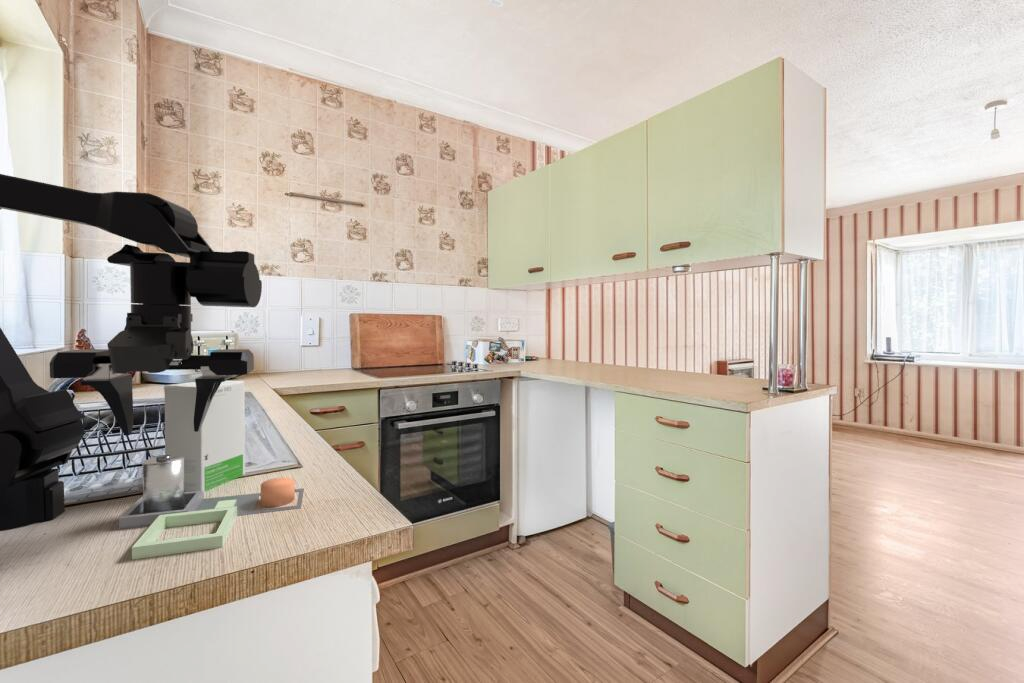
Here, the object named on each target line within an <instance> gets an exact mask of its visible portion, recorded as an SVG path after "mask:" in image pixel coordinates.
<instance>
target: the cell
mask: <svg viewBox="0 0 1024 683" xmlns="http://www.w3.org/2000/svg"><path fill="white" fill-rule="evenodd" d="M141 465H142V496H143V514H147V513H156V512H165V511H174V510H183V509H184V457H183V456H178V455H165V454H161V455H157V456H156V457H152V458H149V459H146V460H143V461H142V464H141Z"/></svg>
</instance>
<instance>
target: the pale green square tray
mask: <svg viewBox="0 0 1024 683" xmlns="http://www.w3.org/2000/svg"><path fill="white" fill-rule="evenodd" d="M237 518H238V516H237V506H236V507H227V508H218V509H209V510H200V511H191V512H182V513H173V514H164V515H159V516H158V517H157V519H156V520H155V521H154V522H153V523H152V524H151V526H148V527H147V529H146V530H145V531H144V532H143V533H142V535H141V536H140V537H139V538H138V539H137V540H136V542H135V543H134V544H133V545H132V546H131V560H132V561H134V560H138V559H139V560H140V559H145V558H153V557H160V556H162V557H163V556H167V555H175V554H182V553H188V552H189V553H190V552H198V551H203V550H210V549H211V550H212V549H217V548H223V547H224V545H225V543H226V541H227V539H228V536H229V535H230V533H231V531H232V528H233V525H235V521H236V519H237ZM214 522H215V523H216V522H221V523H220V524H219V527H218V528H217V530H216V532H215V533H209V534H200V535H193V536H183V537H178V538H177V537H176V538H175V537H174V538H170V539H169V538H168V539H161V540H157V539H158V538H160V536H161V535H162V533H163V532H164V530H165V529H166V528H172V527H173V528H174V527H181V526H188V525H189V526H190V525H196V524H197V525H198V524H206V523H207V524H208V523H214Z"/></svg>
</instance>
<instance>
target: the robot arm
mask: <svg viewBox="0 0 1024 683" xmlns="http://www.w3.org/2000/svg"><path fill="white" fill-rule="evenodd" d="M0 210H7V211H12V212H18V213H23V214H28V215H33V216H37V217H38V216H39V217H43V218H47V219H48V218H49V219H54V220H59V221H63V222H69V223H74V224H80V225H85V226H89V227H95V228H98V229H99V230H103V231H105V232H106V233H110V234H112V235H115V236H118V237H120V238H124V239H127V240H130V241H133V242H134V243H138V244H142V245H146V246H149V247H154V248H158V249H160V250H162V251H163V252H151V251H150V252H149V251H147V252H146V251H143V250H142V249H141V248H140V247H139V246H137V245H136V246H135V245H131V244H128V243H127V244H124V245H123V247H121V248H120V249H119V250H118V251H116V252H115V253H113V254H111V255H110V256H108V257H107V259H106V260H107V262H108V263H109V264H114V265H120V266H126V267H129V268H130V270H129V272H130V273H129V275H130V276H129V277H130V278H129V282H130V283H129V284H130V312H127V313H126V319H125V327H124V328H123V330H121V331H119V332H118V333H117V334H115V336H114V337H112V339H110V341H109V342H107V348H105V349H102V348H100V349H99V348H97V349H95V348H94V349H93V348H92V349H91V348H90V349H89V348H86V349H85V348H84V349H82V348H81V349H80V348H79V349H71V350H66V351H59V352H57V353H55V355H53V356H52V358H51V360H50V362H49V378H50V379H79V381H78V383H79V384H80V385H81V386H90V387H92V388H93V389H94V390H95V391H96V392H98V393H99V394H100V395H101V396H102V398H103V399H104V401H105V402H106V404H107V405H108V406H109V408H110V410H111V412H112V414H113V416H114V418H115V420H116V421H117V424H118V426H119V428H120V430H121V432H122V433H123V436H126V437H127V436H130V435H132V433H133V428H134V427H133V426H134V399H133V398H134V397H133V377H132V376H133V374H132V373H133V372H134V373H135V372H147V373H149V374H158V373H163V372H165V371H172V370H173V371H176V370H177V371H178V370H179V371H180V370H183V371H184V370H190V371H191V370H200V373H201V374H202V375H201V376H199V377H197V378H195V379H194V382H195V383H196V389H197V392H196V402H195V411H194V431H195V432H198V431H199V430H200V429H201V426H202V424H203V421H204V419H205V416H206V414H207V411H208V409H209V406H210V404H211V401H212V399H213V397H214V395H215V393H216V391H217V389H218V388H219V386H220V384H221V382H224V381H229V380H230V379H231V378H232V377H233V376H243V375H244V376H245V375H248V374H250V373H251V372H252V371H254V368H255V363H254V362H255V360H254V359H255V358H254V353H253V352H252V351H251V350H250V349H249V348H248V349H245V348H243V349H241V348H240V349H239V348H237V349H233V348H231V349H227V348H226V349H220V348H218V349H217V350H213V351H210V354H193V353H194V348H195V347H194V338H193V334H192V322H193V319H194V318H193V313H192V306H191V305H192V303H191V302H192V298H195V299H196V301H197V302H198V304H200V305H201V306H202V307H203V306H204V307H224V308H226V307H227V308H228V307H229V308H231V307H232V308H256V307H257V306H258V305H259V303H260V301H261V297H262V291H263V290H262V288H263V287H262V286H263V285H262V284H263V283H262V280H261V279H260V274H259V269H258V266H257V265H256V264H255V254H254V253H252V252H249V251H244V250H243V251H242V250H241V251H240V250H235V251H230V252H229V251H228V252H227V251H215V250H214V249H212V247H211V246H210V245H209V244H208V243H207V241H206V240H205V239H204V237H203V236H202V235H201V234H200V232H199V228H198V227H199V225H198V223H197V219H196V217H194V215H193V214H192V212H191V211H190V210H188V209H187V208H185V207H183V206H180V205H179V204H176V203H173V202H172V201H169V200H167V199H164V198H162V197H160V196H158V195H155V194H152V193H149V192H135V191H134V192H132V191H131V192H129V191H110V192H109V191H108V192H92V191H90V192H89V191H84V190H80V189H75V188H70V187H65V186H60V185H56V184H51V183H46V182H41V181H37V180H33V179H31V180H30V179H26V178H22V177H17V176H12V175H9V174H3V173H0ZM170 254H171V255H170ZM172 255H176V256H181V257H184V258H189V262H186V261H176V260H175V258H174V257H173V256H172ZM129 372H130V373H129ZM131 372H132V373H131ZM80 379H81V380H80ZM85 418H86V415H84V413H82V412H81V411H80V410H79V409H78V408H77V407H76V405H75V403H74V400H73V398H72V395H71V394H70V392H68V391H67V389H59V390H54V391H48V390H46V389H45V388H43V387H41V386H40V385H38V384H37V383H36V382H35V381H34V380H33V378H32V377H31V375H30V373H29V372H28V370H27V369H26V366H25V365H24V364H23V362H22V361H21V358H20V357H19V355H18V353H17V352H16V351H15V349H14V348H13V346H12V344H11V342H10V341H9V339H8V338H7V336H6V335H5V333H4V332H3V329H2V328H1V327H0V532H3V531H10V530H14V529H19V528H23V527H28V526H32V525H35V524H40V523H41V524H42V523H45V522H51V521H53V520H55V519H56V518H58V517H59V516H61V515H62V514H64V513H65V512H66V510H65V509H66V508H65V482H64V481H63V480H60V479H59V468H57V467H59V466H64V465H65V464H66V465H67V464H68V462H69V459H70V457H71V455H72V452H73V450H74V449H76V448H77V447H78V446H79V444H80V443H81V440H82V438H83V436H84V434H85V426H84V424H83V422H82V419H85Z"/></svg>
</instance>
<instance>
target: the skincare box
mask: <svg viewBox="0 0 1024 683" xmlns="http://www.w3.org/2000/svg"><path fill="white" fill-rule="evenodd" d="M245 382H246V381H245V380H226V381H224V382H221V384H220V386H219V388H218V389H217V391H216V393H215V395H214V397H213V399H212V401H211V404H210V406H209V409H208V411H207V414H206V416H205V419H204V421H203V424H202V426H201V429H200V430H199V431H198V432H195V431H194V411H195V402H196V392H197V389H196V383H195V381H191V382H190V381H189V382H181V383H173V384H166V385H164V386H163V390H164V447H165V448H164V455H178V456H183V457H184V492H192V491H203V493H205V492H207V491H211V490H213V489H214V488H217V487H220V486H222V485H224V484H226V483H228V482H229V483H230V482H231V481H233V480H235V479H237V478H240V477H243V476H244V475H246V428H245V427H246V426H245V425H246V419H245V418H246V410H245V409H246V405H245V403H246V399H245V398H246V394H245V392H246V390H245V385H246V384H245Z"/></svg>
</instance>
